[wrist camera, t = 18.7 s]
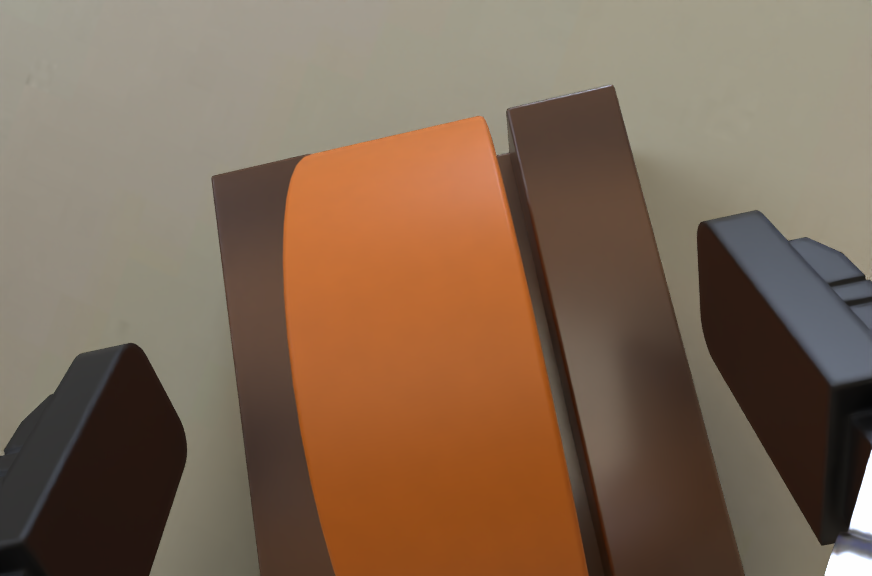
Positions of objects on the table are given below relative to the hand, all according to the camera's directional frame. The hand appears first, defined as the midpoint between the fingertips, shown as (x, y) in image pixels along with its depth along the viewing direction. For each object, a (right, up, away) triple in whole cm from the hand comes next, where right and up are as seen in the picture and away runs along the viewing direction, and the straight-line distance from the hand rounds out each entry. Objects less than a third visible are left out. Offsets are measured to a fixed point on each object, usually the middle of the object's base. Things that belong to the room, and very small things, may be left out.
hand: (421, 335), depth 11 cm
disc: (+1, -2, +7) cm, 7 cm away
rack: (+1, -2, +8) cm, 9 cm away
